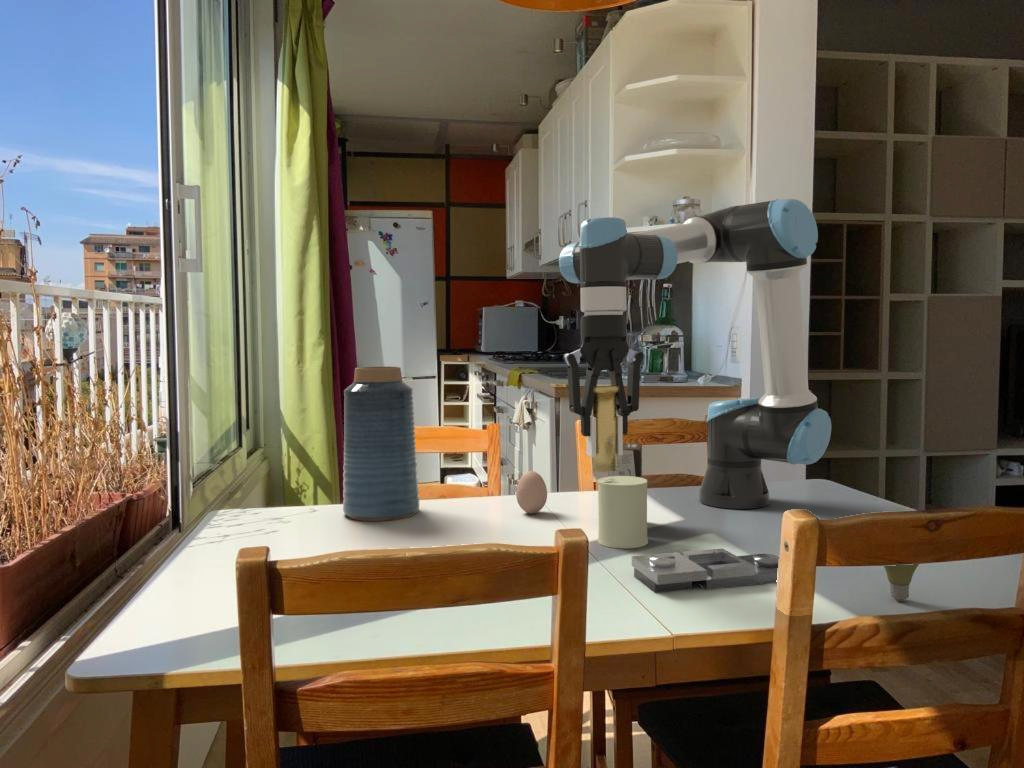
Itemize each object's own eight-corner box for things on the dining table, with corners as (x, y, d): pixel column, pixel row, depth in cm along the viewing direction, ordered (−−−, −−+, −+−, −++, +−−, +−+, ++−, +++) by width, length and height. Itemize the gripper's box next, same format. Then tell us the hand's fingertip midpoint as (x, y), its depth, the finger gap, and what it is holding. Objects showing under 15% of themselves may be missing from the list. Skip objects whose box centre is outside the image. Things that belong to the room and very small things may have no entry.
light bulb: (870, 594, 119) (871, 527, 119) (906, 593, 120) (907, 526, 119) (890, 608, 114) (892, 537, 113) (929, 606, 114) (930, 536, 114)
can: (588, 539, 153) (588, 475, 152) (631, 533, 156) (630, 471, 156) (613, 551, 144) (613, 484, 144) (657, 545, 148) (657, 479, 147)
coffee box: (641, 532, 157) (640, 449, 156) (607, 531, 158) (607, 448, 157) (643, 521, 166) (642, 442, 165) (611, 520, 167) (610, 442, 166)
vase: (327, 518, 172) (323, 369, 170) (369, 502, 187) (365, 365, 185) (395, 524, 166) (391, 370, 164) (432, 507, 181) (429, 365, 179)
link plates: (765, 562, 136) (766, 538, 136) (800, 580, 127) (801, 554, 126) (631, 574, 131) (631, 550, 130) (657, 594, 121) (657, 568, 121)
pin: (613, 466, 139) (613, 384, 138) (625, 471, 134) (624, 386, 133) (584, 467, 138) (583, 385, 137) (595, 473, 133) (594, 387, 132)
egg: (531, 518, 170) (530, 475, 169) (510, 513, 174) (509, 471, 174) (553, 513, 174) (553, 471, 173) (532, 508, 179) (532, 467, 178)
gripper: (642, 313, 139) (643, 449, 141) (547, 314, 135) (549, 454, 137) (660, 312, 132) (661, 455, 134) (560, 314, 128) (562, 461, 130)
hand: (604, 454), depth 136 cm, fingers closed on pin, 4 cm apart
